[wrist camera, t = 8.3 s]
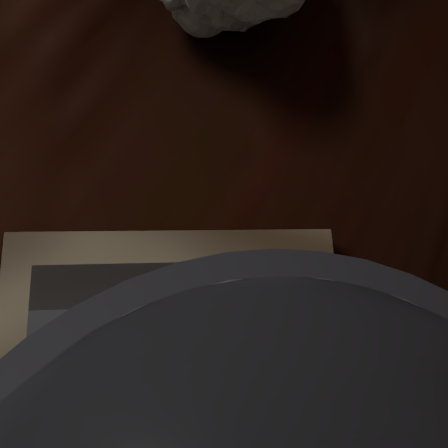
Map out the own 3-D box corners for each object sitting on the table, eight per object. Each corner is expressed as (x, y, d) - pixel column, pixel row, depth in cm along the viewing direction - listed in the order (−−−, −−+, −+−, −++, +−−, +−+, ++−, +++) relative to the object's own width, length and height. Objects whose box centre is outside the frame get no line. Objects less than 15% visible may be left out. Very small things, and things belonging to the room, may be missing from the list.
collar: (358, 576, 17) (425, 651, 13) (-19, 630, 15) (-90, 741, 11) (319, 237, 21) (359, 208, 17) (15, 241, 19) (-26, 209, 15)
